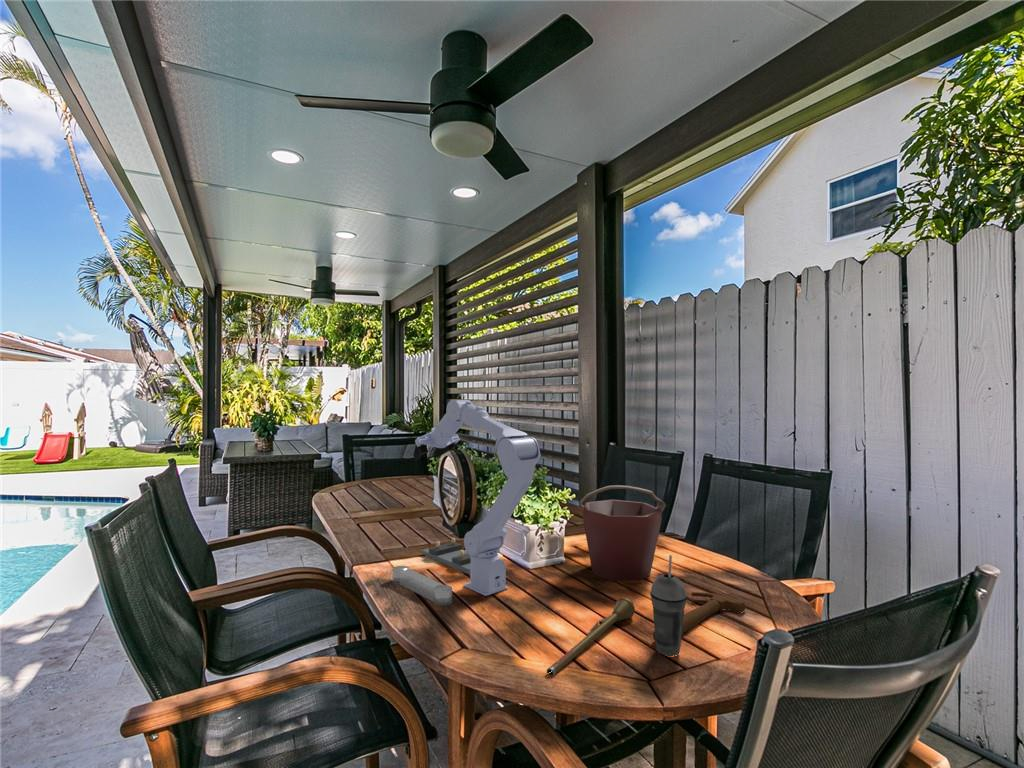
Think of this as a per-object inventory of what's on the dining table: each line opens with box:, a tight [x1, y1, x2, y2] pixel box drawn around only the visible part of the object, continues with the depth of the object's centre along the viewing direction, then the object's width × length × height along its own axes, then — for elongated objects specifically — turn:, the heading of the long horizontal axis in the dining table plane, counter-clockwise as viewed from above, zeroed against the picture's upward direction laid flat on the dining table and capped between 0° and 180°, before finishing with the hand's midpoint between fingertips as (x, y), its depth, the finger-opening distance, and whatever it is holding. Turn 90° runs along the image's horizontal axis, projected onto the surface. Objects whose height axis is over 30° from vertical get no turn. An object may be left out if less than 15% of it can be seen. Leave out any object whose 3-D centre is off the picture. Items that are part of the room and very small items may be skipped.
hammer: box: [652, 591, 746, 640], centre depth 123 cm, size 12×3×30 cm
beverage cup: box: [649, 554, 688, 656], centre depth 109 cm, size 7×7×20 cm
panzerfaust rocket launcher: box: [546, 597, 636, 676], centre depth 114 cm, size 5×35×5 cm
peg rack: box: [421, 537, 471, 575], centre depth 164 cm, size 24×10×5 cm, turn 44°
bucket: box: [578, 484, 667, 582], centre depth 156 cm, size 24×22×25 cm
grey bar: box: [392, 565, 453, 607], centre depth 140 cm, size 24×4×4 cm, turn 44°
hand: (425, 456), depth 163 cm, fingers open, 7 cm apart
